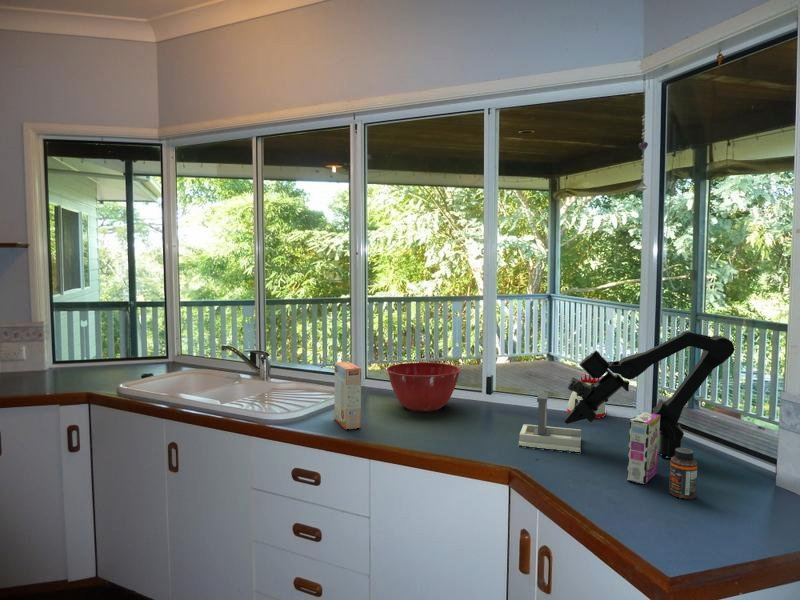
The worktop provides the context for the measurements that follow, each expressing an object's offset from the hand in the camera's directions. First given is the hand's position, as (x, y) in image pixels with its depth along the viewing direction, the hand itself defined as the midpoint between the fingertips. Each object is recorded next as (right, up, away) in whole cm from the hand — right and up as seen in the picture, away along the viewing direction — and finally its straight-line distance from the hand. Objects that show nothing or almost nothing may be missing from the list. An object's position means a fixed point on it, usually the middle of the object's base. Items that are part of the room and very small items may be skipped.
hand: (565, 422), depth 174 cm
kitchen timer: (+18, -5, +36) cm, 41 cm away
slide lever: (-7, -5, +3) cm, 9 cm away
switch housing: (-4, -7, +2) cm, 8 cm away
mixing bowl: (-42, -4, +44) cm, 61 cm away
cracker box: (-70, -5, +21) cm, 73 cm away
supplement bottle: (+18, -10, -37) cm, 42 cm away
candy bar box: (+13, -9, -26) cm, 30 cm away
